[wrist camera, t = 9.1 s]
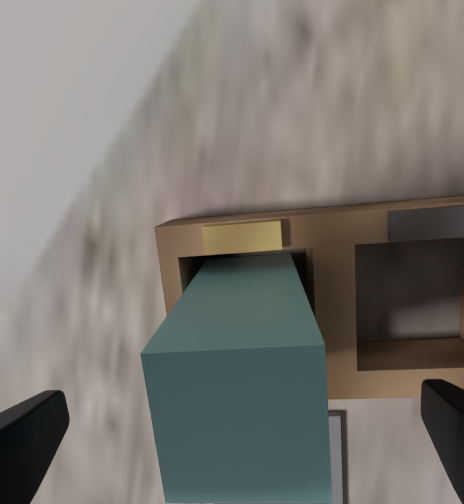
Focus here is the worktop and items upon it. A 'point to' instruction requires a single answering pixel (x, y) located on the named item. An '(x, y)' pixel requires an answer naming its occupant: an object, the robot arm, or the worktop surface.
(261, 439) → the plug
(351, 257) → the socket box
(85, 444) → the worktop surface
